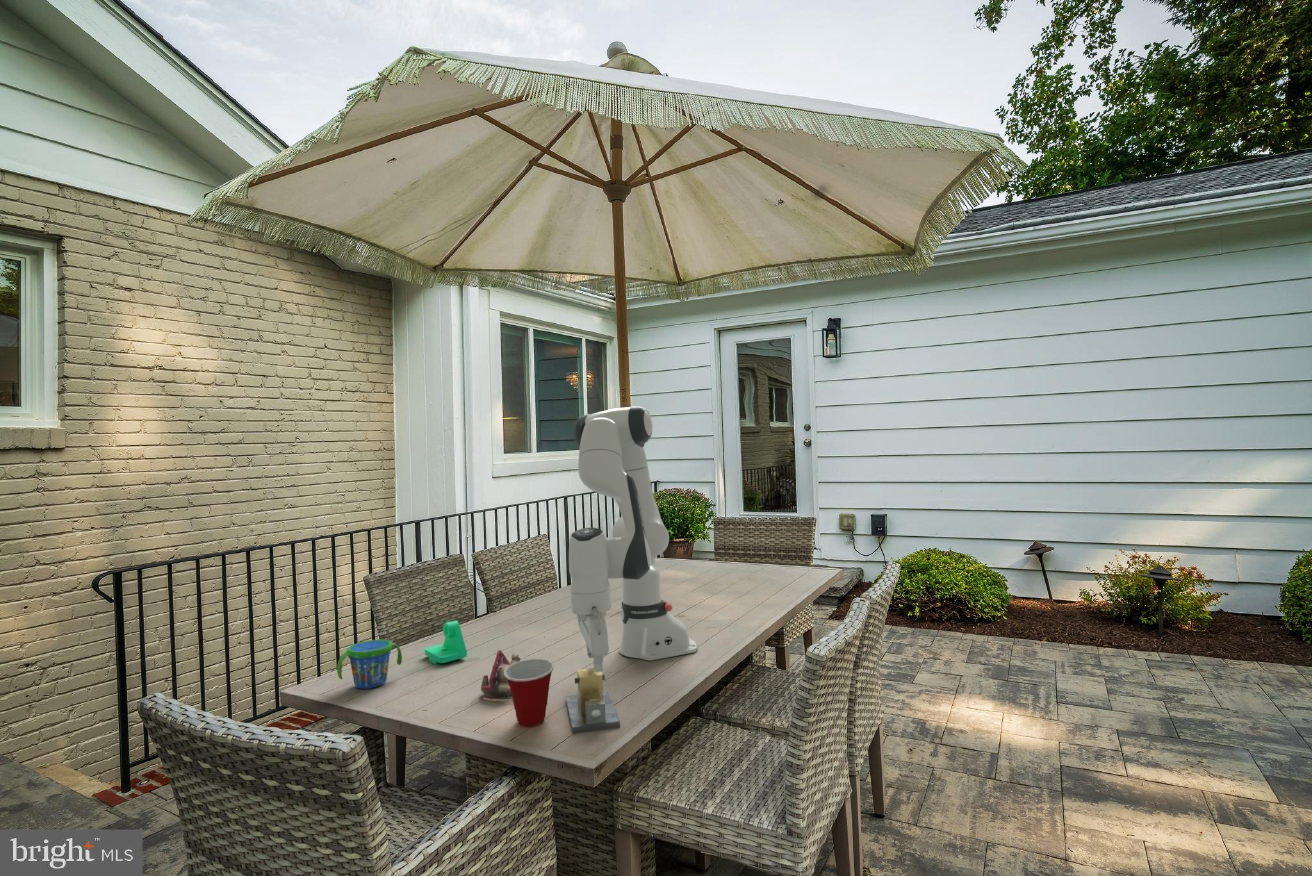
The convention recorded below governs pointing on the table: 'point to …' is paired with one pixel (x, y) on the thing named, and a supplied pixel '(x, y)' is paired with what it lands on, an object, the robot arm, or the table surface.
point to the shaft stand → (592, 714)
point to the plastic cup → (529, 689)
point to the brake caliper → (498, 679)
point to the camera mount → (448, 645)
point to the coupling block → (589, 686)
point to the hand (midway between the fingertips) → (594, 663)
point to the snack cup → (369, 662)
